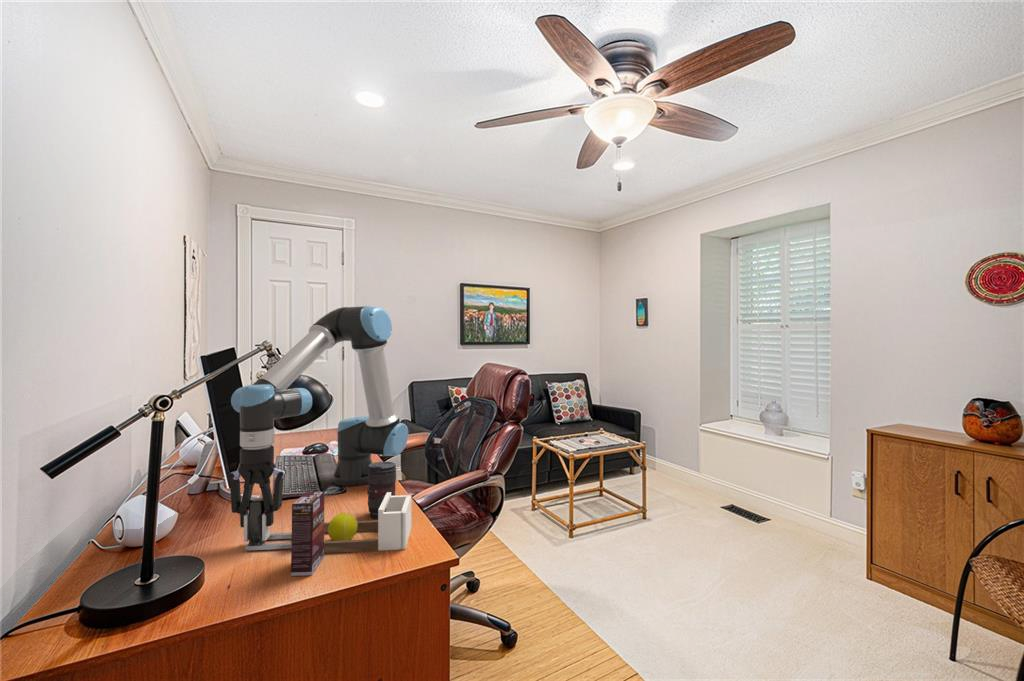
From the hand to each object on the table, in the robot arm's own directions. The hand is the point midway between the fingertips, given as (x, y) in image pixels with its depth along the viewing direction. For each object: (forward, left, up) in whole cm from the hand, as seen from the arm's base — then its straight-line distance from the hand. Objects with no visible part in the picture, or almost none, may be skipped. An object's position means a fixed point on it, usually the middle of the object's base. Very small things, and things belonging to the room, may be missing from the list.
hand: (257, 538), depth 115 cm
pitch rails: (0, +22, -2) cm, 23 cm away
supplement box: (+13, +17, -2) cm, 21 cm away
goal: (0, +34, -2) cm, 34 cm away
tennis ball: (0, +21, -2) cm, 21 cm away
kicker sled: (0, +5, -1) cm, 5 cm away
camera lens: (-17, +28, -2) cm, 33 cm away
